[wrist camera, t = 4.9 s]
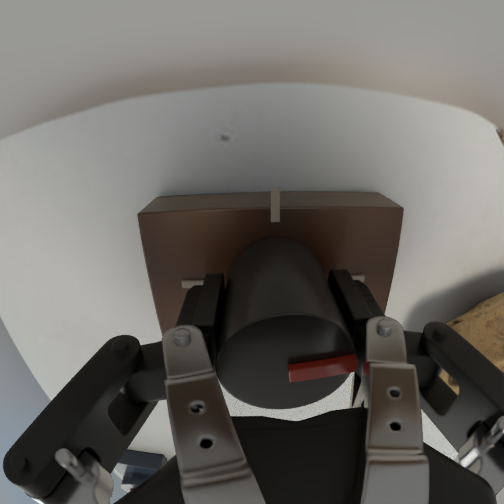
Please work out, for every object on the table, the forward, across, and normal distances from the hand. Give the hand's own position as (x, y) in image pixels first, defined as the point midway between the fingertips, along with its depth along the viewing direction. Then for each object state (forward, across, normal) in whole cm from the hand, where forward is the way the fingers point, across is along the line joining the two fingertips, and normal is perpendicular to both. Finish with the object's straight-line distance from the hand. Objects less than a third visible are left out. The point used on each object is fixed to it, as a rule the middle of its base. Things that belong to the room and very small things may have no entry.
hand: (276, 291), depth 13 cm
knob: (+1, 0, 0) cm, 1 cm away
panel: (+4, 0, 0) cm, 4 cm away
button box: (+4, +15, +31) cm, 35 cm away
